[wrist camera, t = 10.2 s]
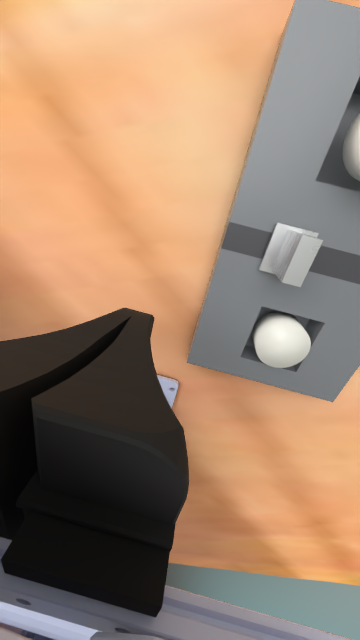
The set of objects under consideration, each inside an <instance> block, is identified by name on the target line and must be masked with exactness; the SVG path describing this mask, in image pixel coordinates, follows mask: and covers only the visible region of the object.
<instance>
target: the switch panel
mask: <svg viewBox="0 0 360 640" xmlns="http://www.w3.org/2000/svg"><path fill="white" fill-rule="evenodd" d="M359 113H360V8H358V7H354V6H350V5H346V4H342V3H337V2H333V1H329V0H295V2H294V4H293V7H292V9H291V12H290V14H289V17H288V20H287V22H286V25H285V27H284V30H283V33H282V36H281V40H280V43H279V47H278V50H277V53H276V57H275V60H274V63H273V67H272V70H271V74H270V77H269V80H268V84H267V87H266V91H265V94H264V97H263V101H262V104H261V107H260V111H259V114H258V118H257V121H256V124H255V128H254V131H253V134H252V138H251V141H250V145H249V148H248V151H247V155H246V158H245V162H244V165H243V168H242V172H241V175H240V178H239V182H238V185H237V189H236V192H235V195H234V199H233V202H232V206H231V209H230V212H229V216H228V219H227V222H226V226H225V229H224V233H223V236H222V239H221V243H220V246H219V250H218V253H217V256H216V260H215V263H214V266H213V270H212V273H211V277H210V280H209V283H208V287H207V290H206V293H205V297H204V300H203V304H202V307H201V310H200V314H199V317H198V321H197V324H196V327H195V331H194V334H193V337H192V341H191V344H190V349H189V354H188V359H187V363H191V364H194V365H198V366H202V367H205V368H209V369H213V370H216V371H220V372H224V373H228V374H231V375H235V376H239V377H242V378H246V379H250V380H253V381H257V382H261V383H264V384H268V385H272V386H275V387H279V388H283V389H287V390H290V391H294V392H298V393H301V394H305V395H309V396H312V397H316V398H320V399H323V400H327V401H331V402H333V401H334V400H335V398H336V397H337V396H338V394H339V393H340V392H341V390H342V389H343V387H344V386H345V385H346V383H347V382H348V381H349V379H350V378H351V376H352V375H353V374H354V372H355V371H356V370H357V368H358V367H359V365H360V181H358V180H356V179H354V178H353V177H352V176H351V175H350V174H349V173H348V171H347V170H346V168H345V165H344V162H343V155H342V152H343V143H344V139H345V136H346V134H347V131H348V129H349V127H350V125H351V123H352V122H353V120H354V119H355V117H356V116H357V115H358V114H359ZM276 222H277V223H281V224H285V225H289V226H293V227H297V228H300V229H304V230H308V231H312V232H316V233H319V234H318V236H317V238H318V239H321V240H323V242H322V244H321V246H320V248H319V250H318V252H317V254H316V256H315V259H314V261H313V263H312V265H311V267H310V269H309V271H308V273H307V275H306V277H305V279H304V281H303V283H302V285H301V287H297V286H294V285H290V284H286V283H282V282H281V281H280V280H279V279H278V277H277V276H276V275H275V274H272V273H269V272H265V271H261V270H259V269H258V268H259V266H260V263H261V261H262V258H263V256H264V253H265V250H266V248H267V245H268V243H269V240H270V237H271V235H272V232H273V230H274V227H275V224H276ZM279 311H280V312H286V313H289V314H292V315H293V316H295V317H296V318H297V319H298V321H299V322H300V323H301V325H302V326H303V328H304V329H305V331H306V332H307V334H308V335H309V337H310V341H311V347H310V350H309V353H308V354H307V356H306V357H305V358H304V359H303V360H302V361H301V362H299V363H298V364H296V365H293V366H290V367H286V368H275V367H271V366H269V365H266V364H265V363H263V362H262V361H261V360H260V359H259V357H258V355H257V353H256V349H255V345H254V342H253V338H252V330H253V327H254V325H255V323H256V322H257V321H258V320H259V319H260V318H261V317H262V316H264V315H266V314H268V313H271V312H279Z"/></svg>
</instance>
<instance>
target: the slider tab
mask: <svg viewBox="0 0 360 640" xmlns="http://www.w3.org/2000/svg"><path fill="white" fill-rule="evenodd" d="M318 234H319V233H316V232H312V231H308V230H304V229H300V228H297V227H293V226H289V225H285V224H281V223H277V222H276V224H275V227H274V230H273V232H272V235H271V237H270V240H269V243H268V245H267V248H266V250H265V253H264V256H263V258H262V261H261V263H260V266H259V268H258V269H259V270H261V271H265V272H269V273H272V274H275V275H276V276H277V277H278V279H279V280H280V281H281V282H282V283H286V284H290V285H294V286H297V287H301V285H302V283H303V281H304V279H305V277H306V275H307V273H308V271H309V269H310V267H311V265H312V263H313V261H314V259H315V256H316V254H317V252H318V250H319V248H320V246H321V244H322V242H323V240H321V239H318V238H317V236H318Z"/></svg>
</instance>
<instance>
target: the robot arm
mask: <svg viewBox="0 0 360 640" xmlns="http://www.w3.org/2000/svg"><path fill="white" fill-rule="evenodd" d="M153 322H154V317H153V315H150V314H147V313H143V312H139V311H135V310H132V309H128V308H122V309H119V310H117V311H114V312H112V313H109V314H107V315H104V316H102V317H99V318H96V319H94V320H91V321H88V322H85V323H82V324H79V325H76V326H73V327H70V328H67V329H63V330H59V331H55V332H51V333H47V334H42V335H37V336H32V337H26V338H19V339H13V340H7V341H0V640H352V639H349V638H346V637H342V636H339V635H335V634H332V633H328V632H325V631H322V630H318V629H315V628H311V627H308V626H304V625H301V624H297V623H294V622H290V621H287V620H284V619H280V618H277V617H274V616H270V615H267V614H263V613H260V612H256V611H253V610H249V609H246V608H242V607H239V606H235V605H232V604H228V603H225V602H222V601H219V600H215V599H212V598H208V597H205V596H201V595H198V594H194V593H191V592H188V591H184V590H181V589H177V588H174V587H171V586H167V585H165V582H166V575H167V568H168V560H169V553H170V551H171V549H172V545H173V538H174V530H175V523H176V520H177V518H178V516H179V514H180V512H181V509H182V507H183V505H184V503H185V500H186V498H187V493H188V486H189V470H188V457H187V449H186V442H185V436H184V430H183V427H182V426H181V424H180V422H179V421H178V419H177V418H176V416H175V414H174V412H173V411H172V406H173V403H174V399H175V396H176V393H177V389H178V386H179V383H178V381H177V380H175V379H171V378H167V377H164V376H160V375H157V374H156V370H155V367H154V363H153V358H152V352H151V344H150V337H151V332H152V327H153ZM172 388H174V389H172Z"/></svg>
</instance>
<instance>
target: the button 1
mask: <svg viewBox="0 0 360 640" xmlns="http://www.w3.org/2000/svg"><path fill="white" fill-rule="evenodd" d="M252 338H253V342H254V345H255V349H256V353H257V355H258V357H259V359H260V360H261V361H262V362H263V363H265V364H266V365H269V366H271V367H275V368H286V367H290V366H293V365H296V364H298V363H299V362H301V361H302V360H303V359H304V358H305V357H306V356H307V354H308V353H309V350H310V347H311V341H310V337H309V335H308V334H307V332H306V331H305V329H304V328H303V326H302V325H301V323H300V322H299V321H298V319H297V318H296V317H295V316H293V315H292V314H289V313H286V312H280V311H279V312H271V313H268V314H266V315H264V316H262V317H261V318H260V319H259V320H258V321H257V322H256V323H255V325H254V327H253V330H252Z"/></svg>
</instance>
